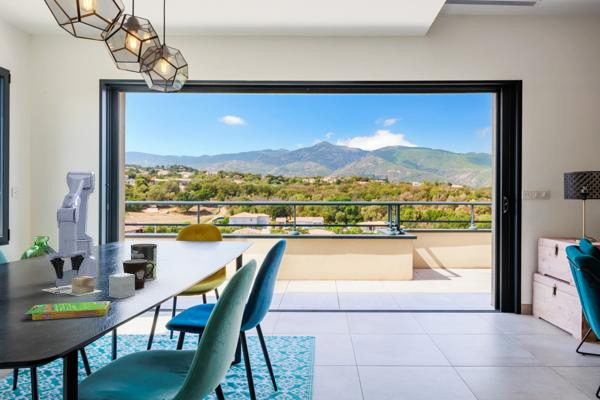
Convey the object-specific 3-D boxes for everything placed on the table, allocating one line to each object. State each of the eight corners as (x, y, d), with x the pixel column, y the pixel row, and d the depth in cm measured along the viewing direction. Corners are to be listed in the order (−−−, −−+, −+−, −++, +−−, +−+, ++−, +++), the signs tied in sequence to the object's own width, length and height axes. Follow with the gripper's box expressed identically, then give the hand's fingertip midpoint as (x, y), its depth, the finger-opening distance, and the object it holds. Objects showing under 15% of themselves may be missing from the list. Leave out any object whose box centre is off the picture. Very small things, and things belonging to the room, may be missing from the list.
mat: (87, 288, 155) (87, 288, 155) (102, 291, 150) (102, 291, 150) (63, 293, 147) (63, 292, 147) (78, 296, 142) (78, 296, 142)
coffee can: (144, 282, 167) (144, 246, 167) (124, 280, 171) (125, 245, 171) (162, 277, 177) (162, 244, 177) (143, 275, 181) (143, 243, 181)
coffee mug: (123, 291, 151) (123, 263, 151) (121, 286, 159) (121, 260, 159) (157, 288, 156) (157, 261, 156) (153, 284, 164) (153, 258, 164)
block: (85, 289, 152) (85, 275, 152) (93, 291, 150) (94, 277, 150) (71, 292, 148) (72, 278, 148) (80, 294, 145) (80, 279, 145)
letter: (76, 284, 162) (76, 283, 162) (92, 287, 157) (92, 286, 157) (41, 290, 151) (41, 289, 151) (57, 293, 146) (57, 293, 146)
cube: (69, 282, 158) (68, 269, 158) (77, 283, 155) (76, 270, 155) (55, 285, 153) (55, 271, 154) (63, 286, 151) (63, 272, 151)
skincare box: (135, 295, 145) (135, 274, 145) (119, 299, 140) (119, 277, 140) (123, 293, 148) (124, 272, 148) (108, 296, 143) (108, 275, 143)
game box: (105, 319, 121) (23, 321, 115) (110, 310, 130) (34, 311, 124) (105, 308, 121) (24, 309, 115) (110, 300, 130) (35, 301, 124)
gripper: (54, 242, 146) (53, 281, 146) (92, 239, 158) (92, 275, 158) (42, 241, 149) (42, 279, 149) (81, 238, 162) (81, 273, 162)
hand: (67, 277), depth 154 cm, fingers closed on cube, 5 cm apart
